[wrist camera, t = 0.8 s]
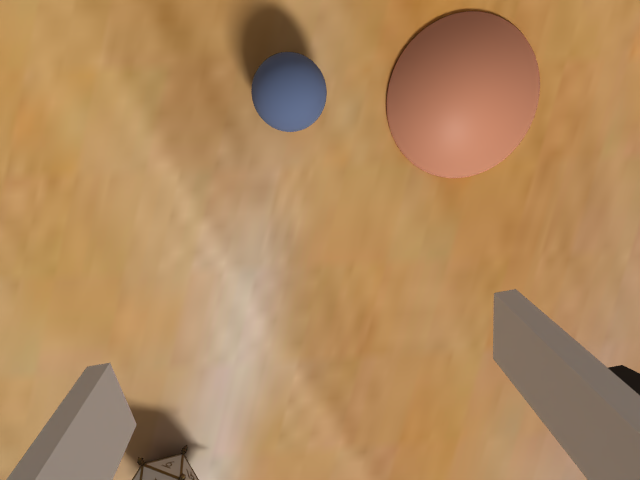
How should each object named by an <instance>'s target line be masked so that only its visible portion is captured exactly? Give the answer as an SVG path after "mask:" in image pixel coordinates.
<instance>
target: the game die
mask: <svg viewBox="0 0 640 480" xmlns="http://www.w3.org/2000/svg"><path fill="white" fill-rule="evenodd" d="M186 451H187V446H185V447H184V448H183V449H182V453H181V454H178V455H174V456H170V457H166V458H162V459H159V460H155V461H151V462H147V463H144V460H143V458H139V457H138V462H137V463H139V465H141V466H140V468H139V470H138V471H137V473H136V474H135V476H134V477H133V479H132V480H199V479H198V478H197V476H196V474H195V473H194V471H193V469H192V468H191V466H190V464H189V462H188V461H187V459H186V457H185V456H184V454H185V453H186Z"/></svg>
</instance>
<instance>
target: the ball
mask: <svg viewBox="0 0 640 480" xmlns="http://www.w3.org/2000/svg"><path fill="white" fill-rule="evenodd" d="M326 95H327V90H326V84H325V80H324V77H323V75H322V73H321V71H320V69H319V68H318V67H317V65H316V64H315V63H314V62H313V61H311V60H310V59H309V58H307V57H306V56H304V55H301V54H298V53H294V52H281V53H278V54H275V55H273V56H271V57H269V58H268V59H266V60H265V61H264V62H263V63H262V64H261V65H260V66H259V68H258V69H257V71H256V73H255V75H254V78H253V82H252V99H253V103H254V106H255V109H256V111H257V112H258V114H259V115H260V117H261V118H262V119H263V120H264V121H265V122H266V123H267V124H268V125H270V126H271V127H273V128H275V129H278V130H281V131H286V132H294V131H299V130H303V129H305V128H307V127H309V126H310V125H311V124H313V123H314V122H315V121H316V120H317V119H318V117H319V116H320V115H321V113H322V111H323V109H324V106H325V102H326Z"/></svg>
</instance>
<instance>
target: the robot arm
mask: <svg viewBox="0 0 640 480" xmlns="http://www.w3.org/2000/svg"><path fill="white" fill-rule="evenodd" d="M493 359H494V360H495V361H496V363H497V364H498V365H499V367H500V368H501V369H502V370H503V372H504V373H505V374H506V376H507V377H508V378H509V379H510V381H511V382H512V383H513V384H514V386H515V387H516V388H517V390H518V391H519V392H520V393H521V395H522V396H523V397H524V399H525V400H526V401H527V402H528V404H529V405H530V406H531V408H532V409H533V410H534V411H535V413H536V414H537V415H538V417H539V418H540V419H541V420H542V422H543V423H544V424H545V425H546V427H547V428H548V429H549V431H550V432H551V433H552V434H553V436H554V437H555V438H556V440H557V441H558V442H559V443H560V445H561V446H562V447H563V449H564V450H565V451H566V452H567V454H568V455H569V456H570V458H571V459H572V460H573V461H574V463H575V464H576V465H577V466H578V468H579V469H580V470H581V472H582V473H583V474H584V475H585V477H586V478H587V479H588V480H640V374H639V373H637V372H635V371H633V370H631V369H629V368H627V367H625V366H623V365H620V366H615V367H610V368H607V367H606V366H605V365H604V364H602V363H601V362H600V361H599V360H598V359H597V358H595V357H594V356H593V355H592V354H591V353H590V352H588V351H587V350H586V349H585V348H584V347H583V346H581V345H580V344H579V343H578V342H577V341H576V340H574V339H573V338H572V337H571V336H570V335H569V334H567V333H566V332H565V331H564V330H563V329H562V328H560V327H559V326H558V325H557V324H556V323H555V322H553V321H552V320H551V319H550V318H549V317H548V316H546V315H545V314H544V313H543V312H542V311H541V310H539V309H538V308H537V307H536V306H535V305H534V304H532V303H531V302H530V301H529V300H528V299H527V298H525V297H524V296H523V295H522V294H521V293H520V292H518V291H517V290H516V289H514V290H509V291H503V292H497V293H494V330H493ZM136 425H137V424H136V421H135V419H134V417H133V415H132V412H131V410H130V408H129V405H128V403H127V401H126V398H125V396H124V394H123V392H122V389H121V387H120V385H119V382H118V380H117V378H116V375H115V373H114V371H113V368H112V366H111V364H110V363H106V364H100V365H95V366H89V367H87V368H86V369H85V370H84V372H83V373H82V375H81V376H80V377H79V379H78V380H77V382H76V383H75V384H74V386H73V387H72V389H71V390H70V391H69V393H68V394H67V396H66V397H65V398H64V400H63V401H62V403H61V404H60V405H59V407H58V408H57V410H56V411H55V412H54V414H53V415H52V417H51V418H50V419H49V421H48V422H47V424H46V425H45V426H44V428H43V429H42V431H41V432H40V433H39V435H38V436H37V438H36V439H35V440H34V442H33V443H32V445H31V446H30V447H29V449H28V450H27V452H26V453H25V454H24V456H23V457H22V459H21V460H20V461H19V463H18V464H17V466H16V467H15V468H14V470H13V471H12V473H11V474H10V475H9V477H8V478H7V480H113V477H114V475H115V473H116V470H117V468H118V466H119V464H120V461H121V459H122V457H123V455H124V452H125V450H126V448H127V446H128V443H129V441H130V439H131V436H132V434H133V432H134V430H135V427H136Z"/></svg>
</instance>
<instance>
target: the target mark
mask: <svg viewBox="0 0 640 480" xmlns="http://www.w3.org/2000/svg"><path fill="white" fill-rule="evenodd" d="M539 92H540V76H539V69H538V64H537V61H536V57H535V54H534V52H533V50H532V48H531V46H530V44H529V43H528V41H527V40H526V38H525V37H524V35H523V34H522V33H521V32H520V31H519V30H518V29H517V28H516V27H515V26H513V25H512V24H511V23H510V22H508V21H506V20H504V19H503V18H501V17H498V16H496V15H493V14H490V13H484V12H473V11H469V12H461V13H456V14H453V15H449V16H446V17H444V18H442V19H440V20H437V21H436V22H434V23H432V24H431V25H429V26H427V27H426V28H425V29H424V30H422V31H421V32H420V33H419V34H418V35H417V36H416V37H415V38H414V39H413V40H412V41H411V42H410V43H409V44H408V46H407V47H406V48H405V50H404V51H403V52H402V54H401V56H400V58H399V59H398V61H397V63H396V65H395V68H394V70H393V72H392V75H391V79H390V82H389V87H388V92H387V104H386V105H387V118H388V123H389V127H390V130H391V134H392V136H393V138H394V140H395V142H396V145H397V146H398V148H399V149H400V151H401V152H402V153H403V154H404V156H405V157H406V158H407V159H408V160H409V161H410V162H412V163H413V164H414V165H415V166H417V167H418V168H420V169H421V170H423V171H425V172H428V173H430V174H432V175H436V176H440V177H446V178H462V177H469V176H473V175H476V174H479V173H482V172H484V171H487V170H488V169H490V168H492V167H494V166H496V165H497V164H498V163H500V162H501V161H503V160H504V159H505V158H506V157H507V156H508V155H509V154H511V153H512V152H513V150H514V149H515V148H516V147H517V146H518V145H519V143H520V142H521V141H522V139H523V138H524V136H525V135H526V133H527V131H528V129H529V128H530V125H531V123H532V121H533V118H534V116H535V112H536V109H537V105H538V100H539Z"/></svg>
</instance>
